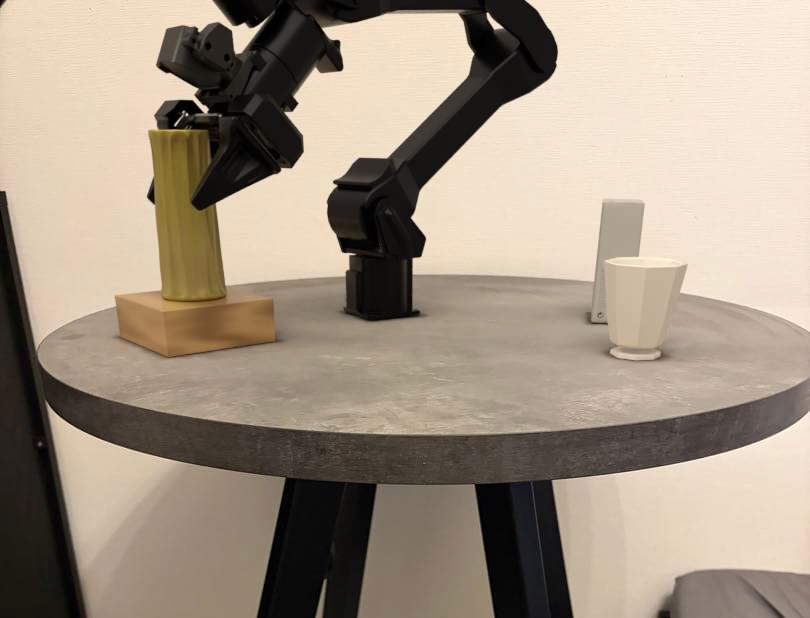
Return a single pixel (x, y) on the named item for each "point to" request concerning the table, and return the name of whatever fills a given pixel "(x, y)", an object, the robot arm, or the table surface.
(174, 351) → the oak block
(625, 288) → the cup
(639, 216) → the cosmetic box
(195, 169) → the vase
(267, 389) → the table surface
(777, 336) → the table surface
